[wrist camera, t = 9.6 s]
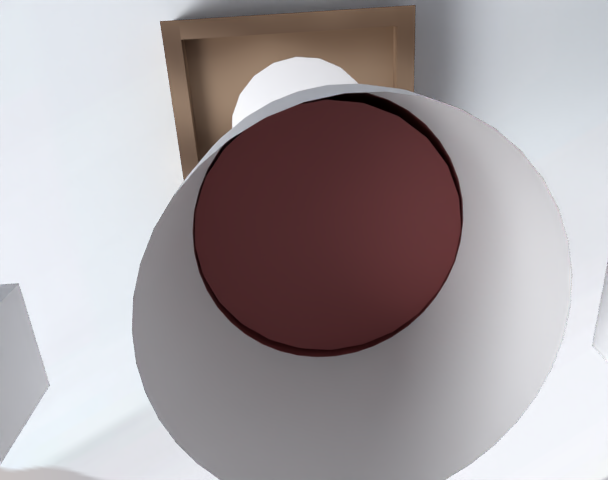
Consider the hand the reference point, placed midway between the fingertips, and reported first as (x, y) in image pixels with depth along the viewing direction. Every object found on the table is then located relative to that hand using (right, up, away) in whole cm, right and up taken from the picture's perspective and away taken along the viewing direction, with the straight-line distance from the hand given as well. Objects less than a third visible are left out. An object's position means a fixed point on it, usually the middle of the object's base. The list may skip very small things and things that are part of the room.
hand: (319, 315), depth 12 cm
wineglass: (0, +8, +21) cm, 22 cm away
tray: (-1, +9, +23) cm, 25 cm away
